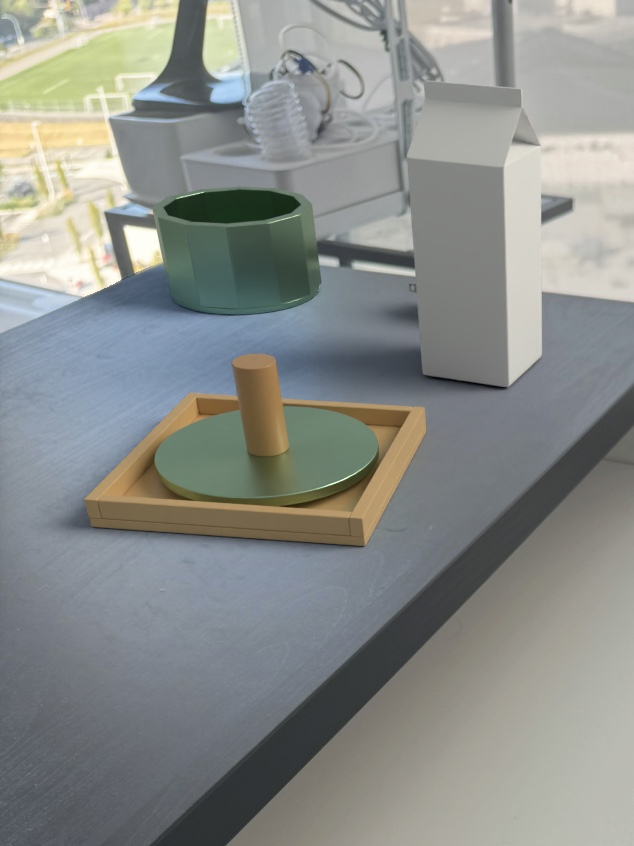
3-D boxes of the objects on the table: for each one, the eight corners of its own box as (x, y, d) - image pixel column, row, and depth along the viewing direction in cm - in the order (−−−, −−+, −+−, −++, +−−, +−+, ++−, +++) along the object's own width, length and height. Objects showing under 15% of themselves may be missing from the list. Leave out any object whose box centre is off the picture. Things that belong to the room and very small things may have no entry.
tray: (91, 527, 69) (83, 499, 68) (194, 417, 82) (189, 392, 81) (365, 546, 68) (362, 518, 67) (426, 432, 81) (424, 406, 79)
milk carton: (509, 390, 87) (501, 97, 75) (422, 377, 88) (401, 88, 76) (542, 358, 92) (540, 80, 80) (459, 346, 94) (445, 72, 81)
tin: (148, 310, 99) (128, 221, 94) (202, 266, 109) (187, 183, 104) (295, 318, 98) (282, 229, 94) (336, 273, 108) (327, 190, 103)
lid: (122, 509, 70) (93, 397, 65) (205, 418, 80) (185, 317, 76) (348, 525, 69) (333, 412, 64) (402, 431, 79) (393, 329, 75)
